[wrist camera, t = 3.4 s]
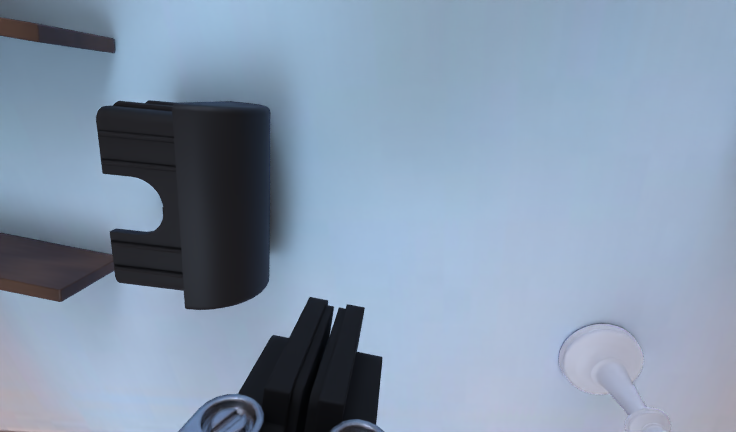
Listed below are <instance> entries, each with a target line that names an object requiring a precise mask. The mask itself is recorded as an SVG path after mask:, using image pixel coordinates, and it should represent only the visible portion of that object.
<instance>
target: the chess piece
mask: <svg viewBox="0 0 736 432" xmlns="http://www.w3.org/2000/svg"><path fill="white" fill-rule="evenodd" d="M643 364H644V356H643V352H642V349H641V347H640V346H639V344H638V343H637V341H636V339H635V338H634V337H633V335H632V334H630V333H629V332H628V331H626V330H625V329H623V328H621V327H618V326H615V325H610V324H595V325H590V326H587V327H584V328H582V329H579V330H578V331H576V332H574V333H573V334H572V335H571V336H569V337H568V338H567V340H566V341H565V342H564V344H563V345H562V347H561V350H560V353H559V366H560V369H561V371H562V373H563V374H564V376H565V377H566V378H567V379H568V381H569V382H570V383H571V384H572V385H573V386H575V387H576V388H577V389H579V390H581V391H583V392H586V393H590V394H596V395H606V394H610V395H611V396H612V397H613V398H614V399H615V400H616V401H617V403H618V404H619V405H620V406H621V407H622V408H623V409H624V411H625V412H626V413H627V414H628V415H629V416H628V418H627V419H626V422H625V430H626V432H670V431H671V422H670V419H669V417H668V415H667V414H666V413H665V412H663V411H662V410H660V409H657V408H651V407H647V406H646V405H645V403H644V401H643V400H642V398H641V396H640V395H639V393H638V391H637V389H636V387H635V386H634V384H633V382H634V381H635V380H636V379H637V378H638V376H639V375H640V373H641V371H642V368H643Z"/></svg>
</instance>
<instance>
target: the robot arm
mask: <svg viewBox="0 0 736 432" xmlns="http://www.w3.org/2000/svg"><path fill="white" fill-rule="evenodd" d="M364 309H365V308H364V307H358V306H353V305H348V304H347V306H346V309H343V308H339V309H338V312H337V315H336V319H335V322H334V325H333V328H332V331H331V334H330V330H331V323H332V317H333V310H334V307H333V306H328V300H323V299H318V298H312V297H310V298H309V300H308V302H307V304H306V305H305V307H304V309H303V311H302V313H301V315H300V317H299V319H298V321H297V323H296V325H295V327H294V329H293V331H292V333H291V335H290V337H289V338H285V337H280V336H275V335H273V336H272V337H271V338H270V340H269V341H268V343H267V345H266V346H265V348H264V350H263V352H262V353H261V355H260V357H259V358H258V360H257V362H256V364H255V365H254V367H253V369H252V371H251V372H250V374H249V376H248V377H247V379H246V381H245V383H244V384H243V386H242V388H241V389H240V391H239V393H238V394H227V395H223V396H219V397H216V398H214V399H212V400H210V401H208V402H206V403H205V404H204V405H203V406H202V407H200V408H199V409H198V410H197V412H196V413H195V414H194V415H193V416H192V417H191V418H190V419H189V420H188V421H187V423H186V424H185V425H184V426H183V427H182V428H181V429H180V430H179V431H178V432H384V431H383V430H382V429H381V428H379V427H378V426H377V425H376V420H377V410H378V399H379V389H380V378H381V368H382V357H380V356H375V355H370V354H365V353H360V352H357V348H358V342H359V337H360V331H361V326H362V320H363V315H364ZM329 336H330V337H329Z"/></svg>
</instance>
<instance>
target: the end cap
mask: <svg viewBox="0 0 736 432" xmlns="http://www.w3.org/2000/svg"><path fill="white" fill-rule="evenodd" d="M96 123H97V131H98V139H99V147H100V156H101V164H102V172H103V174H111V175H121V176H131V177H136V178H139V179H142V180H144V181H146V182H147V183H149V184H150V185H151V186H152V187H153V188H154V189H155V190H156V191H157V192H158V194H159V196H160V198H161V200H162V203H163V220H162V222H161V224H160V226H159V227H158V228H157V229H156V230H155V231H150V232H142V231H133V230H124V229H114V230H112V231H110V238H111V246H112V254H113V262H114V270H115V277H116V280H117V281H118V282H119V283H126V284H134V285H142V286H150V287H158V288H166V289H175V290H183V291H184V299H185V308H186V309H193V310H209V309H218V308H225V307H229V306H233V305H237V304H240V303H243V302H245V301H247V300H249V299H252V298H253V297H255V296H256V295H258V294H259V293H261V292H262V291H263V290H264V289H265V288H266V286H267V284H268V282H269V255H270V110H269V108H268V107H266V106H263V105H258V104H251V103H243V102H232V101H226V102H193V103H172V102H161V101H147V102H146V103H136V102H125V101H118V102H116V103H115V104H114V105H113V106H103V107H101V108H100V109H99V110H98V112H97V116H96Z"/></svg>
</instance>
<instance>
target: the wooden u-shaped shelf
mask: <svg viewBox="0 0 736 432" xmlns="http://www.w3.org/2000/svg"><path fill="white" fill-rule="evenodd" d="M0 36H5V37H11V38H17V39H22V40H28V41H34V42H40V43H47V44H54V45H61V46H68V47H75V48H81V49H88V50H95V51H102V52H109V53H115V45H114V39H113V38H109V37H103V36H98V35H93V34H88V33H83V32H78V31H73V30H68V29H62V28H57V27H52V26H47V25H42V24H37V23H31V22H25V21H19V20H13V19H7V18H1V17H0ZM113 271H114V262H113V255H111V254H105V253H100V252H95V251H90V250H85V249H80V248H75V247H70V246H65V245H60V244H55V243H49V242H44V241H39V240H34V239H29V238H24V237H19V236H14V235H9V234H4V233H0V290H4V291H9V292H14V293H19V294H24V295H28V296H33V297H38V298H43V299H48V300H53V301H58V302H62V301H64V300H65V299H67V298H69V297H70V296H72V295H74V294H76V293H77V292H79V291H81V290H82V289H84V288H86V287H87V286H89V285H91V284H92V283H94V282H96V281H97V280H99V279H101V278H103V277H104V276H106V275H108V274H109V273H111V272H113Z"/></svg>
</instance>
